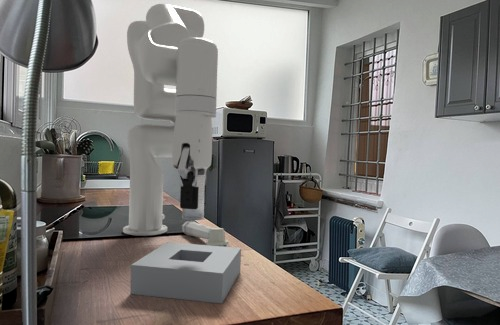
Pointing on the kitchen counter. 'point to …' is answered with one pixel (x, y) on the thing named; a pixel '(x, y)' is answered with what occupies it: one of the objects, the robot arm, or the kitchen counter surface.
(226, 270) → the socket block
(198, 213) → the cylinder
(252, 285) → the kitchen counter surface
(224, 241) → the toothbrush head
